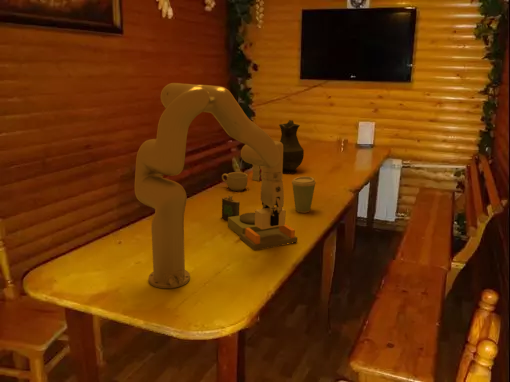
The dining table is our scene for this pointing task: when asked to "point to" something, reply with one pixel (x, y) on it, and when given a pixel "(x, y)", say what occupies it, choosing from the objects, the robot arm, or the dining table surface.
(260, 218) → the pale beige box
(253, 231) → the tray with orange tabs
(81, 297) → the dining table surface
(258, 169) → the candy bar box
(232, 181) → the teacup
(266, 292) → the dining table surface
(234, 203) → the flask
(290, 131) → the pitcher
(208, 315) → the dining table surface
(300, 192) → the disposable coffee cup
